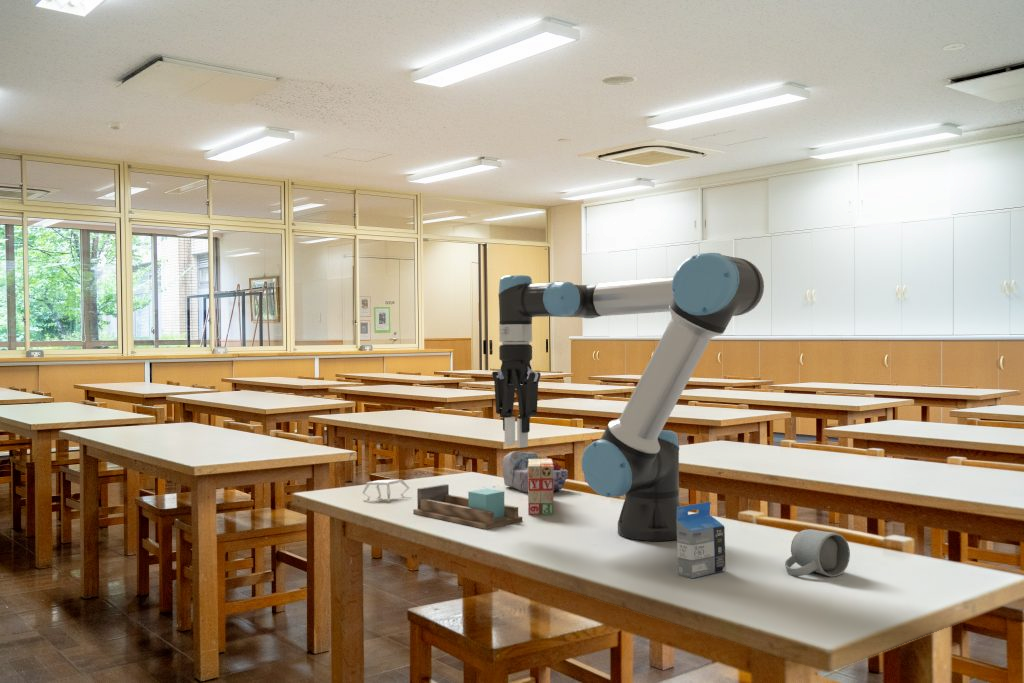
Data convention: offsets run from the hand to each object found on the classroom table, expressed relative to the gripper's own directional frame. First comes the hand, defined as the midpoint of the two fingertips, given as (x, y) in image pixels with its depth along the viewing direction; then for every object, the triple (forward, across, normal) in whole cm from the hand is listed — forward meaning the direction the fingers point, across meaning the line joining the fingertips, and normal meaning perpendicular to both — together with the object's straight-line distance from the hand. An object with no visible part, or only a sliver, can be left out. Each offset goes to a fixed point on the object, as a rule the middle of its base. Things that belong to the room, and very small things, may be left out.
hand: (516, 446), depth 193 cm
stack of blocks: (+19, -13, +22) cm, 32 cm away
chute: (+19, -17, 0) cm, 25 cm away
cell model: (+19, -32, +40) cm, 54 cm away
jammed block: (+17, -10, 0) cm, 20 cm away
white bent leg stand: (+19, -51, +2) cm, 55 cm away
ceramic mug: (+19, +66, +10) cm, 69 cm away
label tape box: (+19, +51, -4) cm, 55 cm away
